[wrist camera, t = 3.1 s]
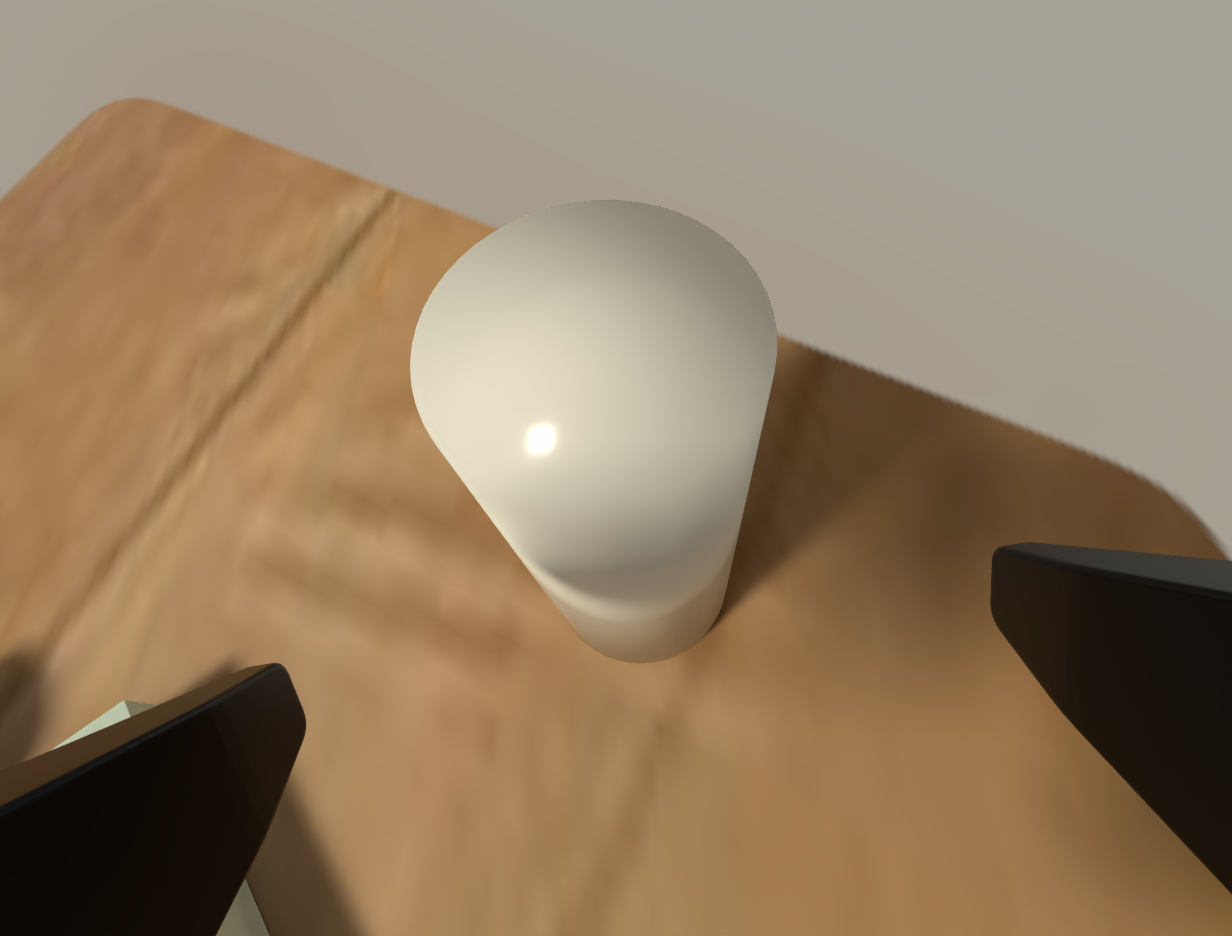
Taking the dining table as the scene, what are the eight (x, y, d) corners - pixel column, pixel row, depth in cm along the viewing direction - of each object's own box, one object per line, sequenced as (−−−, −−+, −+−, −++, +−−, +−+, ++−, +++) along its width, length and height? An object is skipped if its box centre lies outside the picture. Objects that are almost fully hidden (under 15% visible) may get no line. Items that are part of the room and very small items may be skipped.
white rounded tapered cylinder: (762, 589, 21) (859, 356, 9) (624, 701, 20) (542, 593, 8) (654, 466, 23) (625, 149, 11) (523, 562, 22) (347, 322, 10)
